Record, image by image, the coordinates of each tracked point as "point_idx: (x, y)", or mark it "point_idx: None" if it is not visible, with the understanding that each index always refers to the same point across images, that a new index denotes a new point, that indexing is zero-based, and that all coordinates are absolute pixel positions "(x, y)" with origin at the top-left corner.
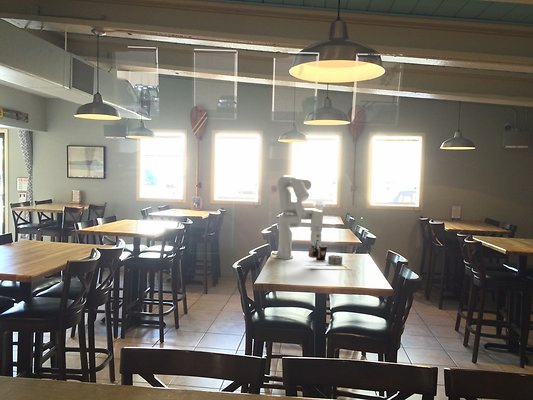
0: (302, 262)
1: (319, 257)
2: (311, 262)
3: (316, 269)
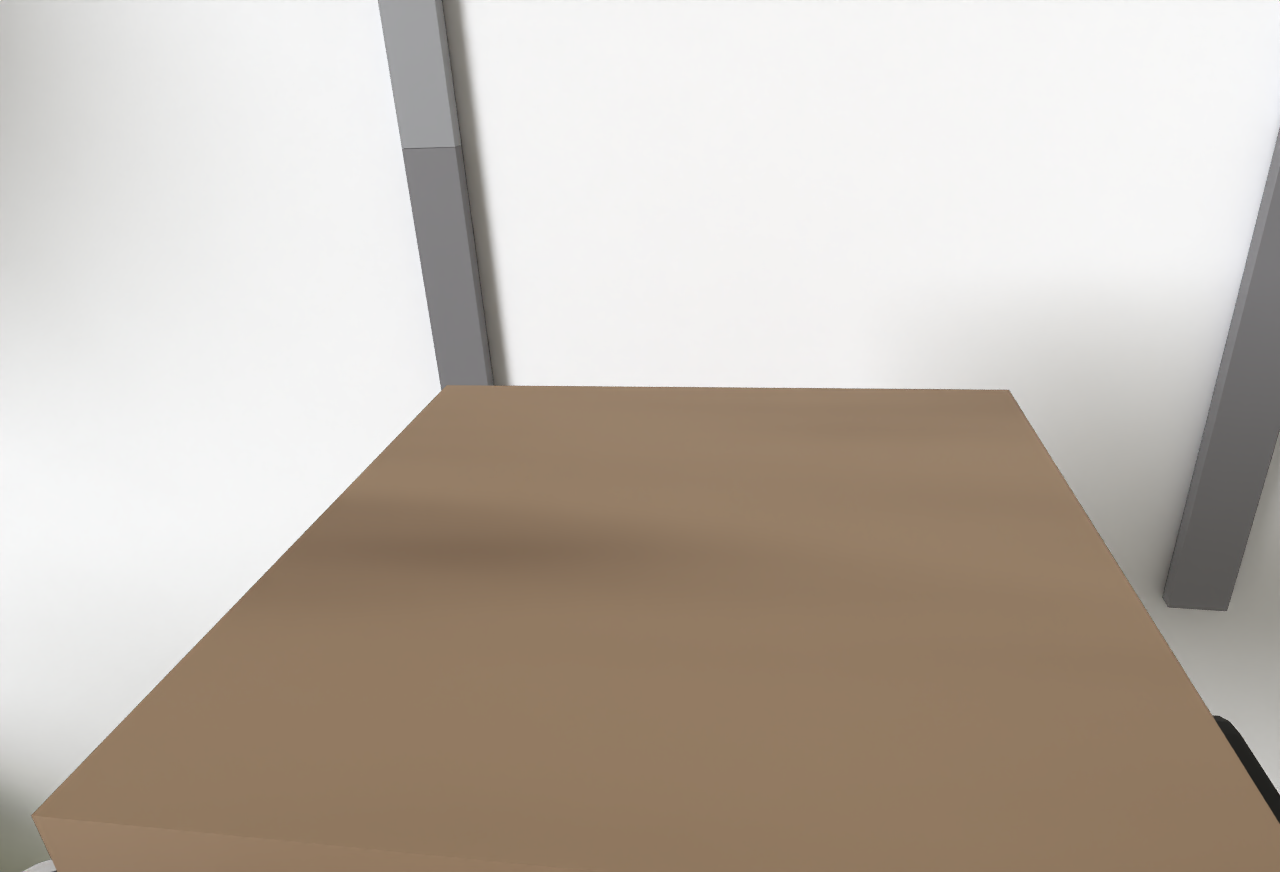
0: (122, 520)
1: (1017, 417)
2: (12, 252)
3: (1266, 441)
